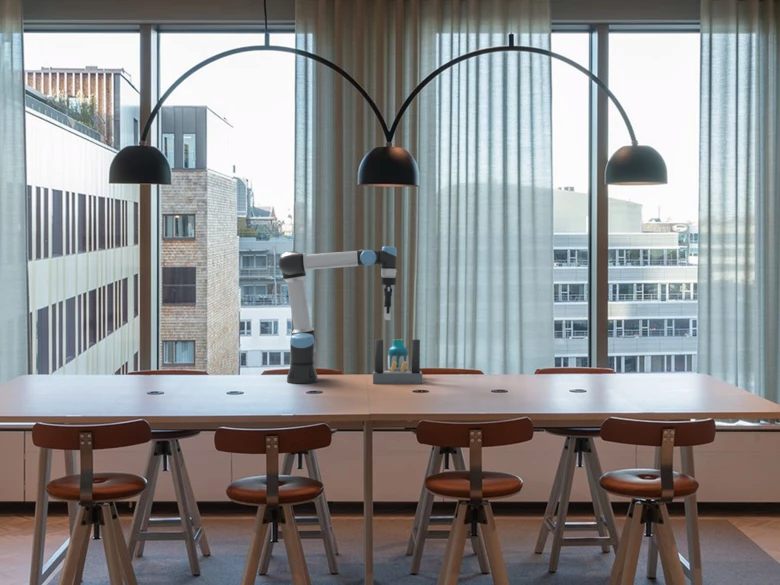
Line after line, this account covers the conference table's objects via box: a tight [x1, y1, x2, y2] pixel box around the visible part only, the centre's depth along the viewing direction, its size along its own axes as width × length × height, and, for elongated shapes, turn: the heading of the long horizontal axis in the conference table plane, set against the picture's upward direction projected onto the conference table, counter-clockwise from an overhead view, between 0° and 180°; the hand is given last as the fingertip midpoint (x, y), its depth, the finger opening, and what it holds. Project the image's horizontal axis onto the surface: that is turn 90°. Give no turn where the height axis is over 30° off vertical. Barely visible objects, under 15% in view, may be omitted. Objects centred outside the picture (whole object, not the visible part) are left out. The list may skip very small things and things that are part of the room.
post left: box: [374, 339, 384, 373], centre depth 467 cm, size 4×4×16 cm
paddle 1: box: [390, 361, 397, 371], centre depth 467 cm, size 2×3×4 cm, turn 2°
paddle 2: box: [400, 361, 407, 371], centre depth 467 cm, size 2×3×4 cm, turn 2°
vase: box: [387, 338, 409, 371], centre depth 487 cm, size 11×11×19 cm
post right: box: [411, 338, 421, 373], centre depth 467 cm, size 4×4×16 cm
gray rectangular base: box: [372, 370, 423, 385], centre depth 467 cm, size 24×10×5 cm, turn 91°
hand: (387, 319), depth 481 cm, fingers open, 13 cm apart
